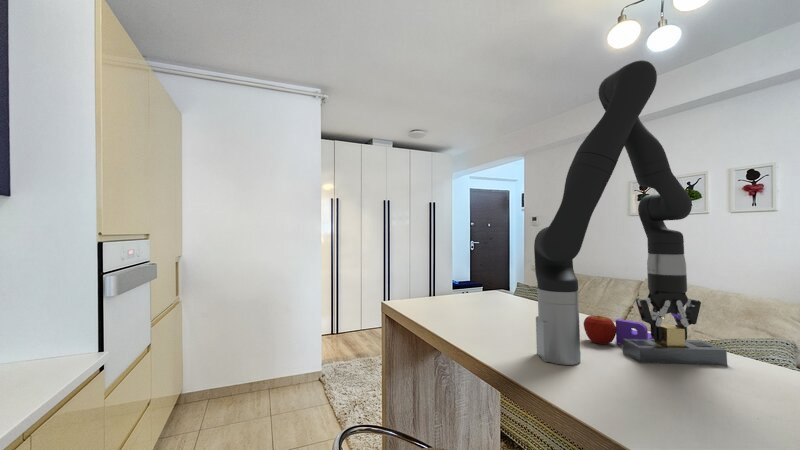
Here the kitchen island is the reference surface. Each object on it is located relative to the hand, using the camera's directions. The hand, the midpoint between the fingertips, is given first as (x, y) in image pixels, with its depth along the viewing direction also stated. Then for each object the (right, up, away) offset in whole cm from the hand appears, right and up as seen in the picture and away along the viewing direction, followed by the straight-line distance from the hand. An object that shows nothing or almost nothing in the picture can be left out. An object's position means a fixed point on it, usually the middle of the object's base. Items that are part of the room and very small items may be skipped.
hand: (669, 340), depth 79 cm
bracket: (+1, -5, +12) cm, 14 cm away
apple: (-10, -5, +12) cm, 16 cm away
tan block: (0, -5, 0) cm, 5 cm away
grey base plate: (+1, -4, 0) cm, 4 cm away
